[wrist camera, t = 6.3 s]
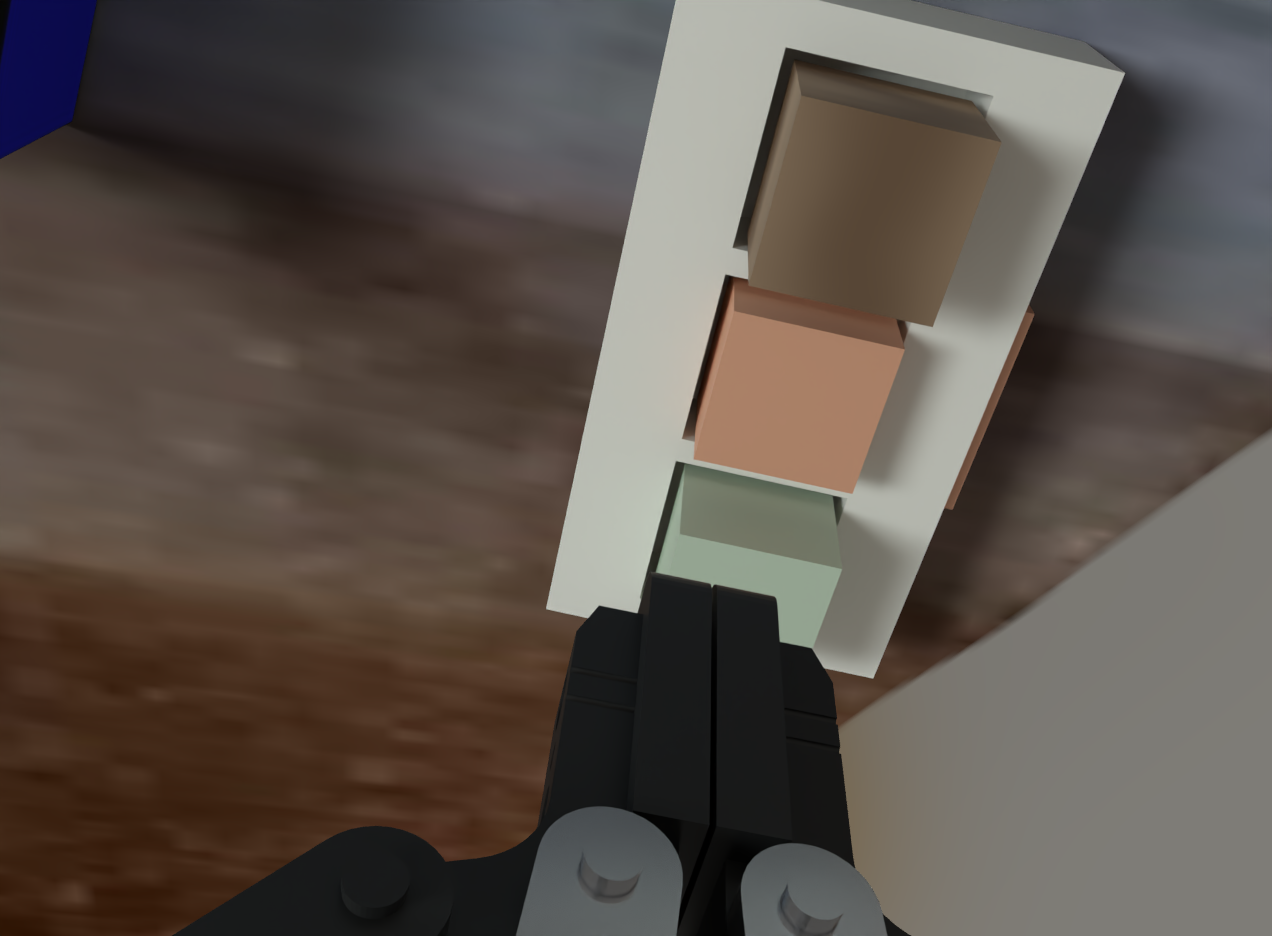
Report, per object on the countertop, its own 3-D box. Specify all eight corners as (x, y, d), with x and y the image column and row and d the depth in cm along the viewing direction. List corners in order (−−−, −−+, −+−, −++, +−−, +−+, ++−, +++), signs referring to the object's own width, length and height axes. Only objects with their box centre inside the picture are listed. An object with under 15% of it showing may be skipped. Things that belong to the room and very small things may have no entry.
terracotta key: (697, 396, 33) (693, 459, 30) (734, 258, 31) (734, 311, 28) (841, 428, 33) (852, 494, 30) (888, 293, 31) (905, 349, 28)
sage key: (652, 582, 34) (644, 660, 31) (684, 463, 32) (679, 533, 29) (791, 611, 35) (796, 691, 32) (832, 495, 32) (842, 568, 29)
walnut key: (747, 232, 29) (748, 285, 26) (794, 59, 27) (801, 95, 24) (912, 269, 29) (932, 326, 26) (972, 101, 27) (1001, 141, 24)
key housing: (561, 542, 38) (546, 608, 35) (688, -53, 28) (683, -32, 25) (873, 609, 38) (886, 680, 35) (1100, 45, 29) (1142, 77, 26)
